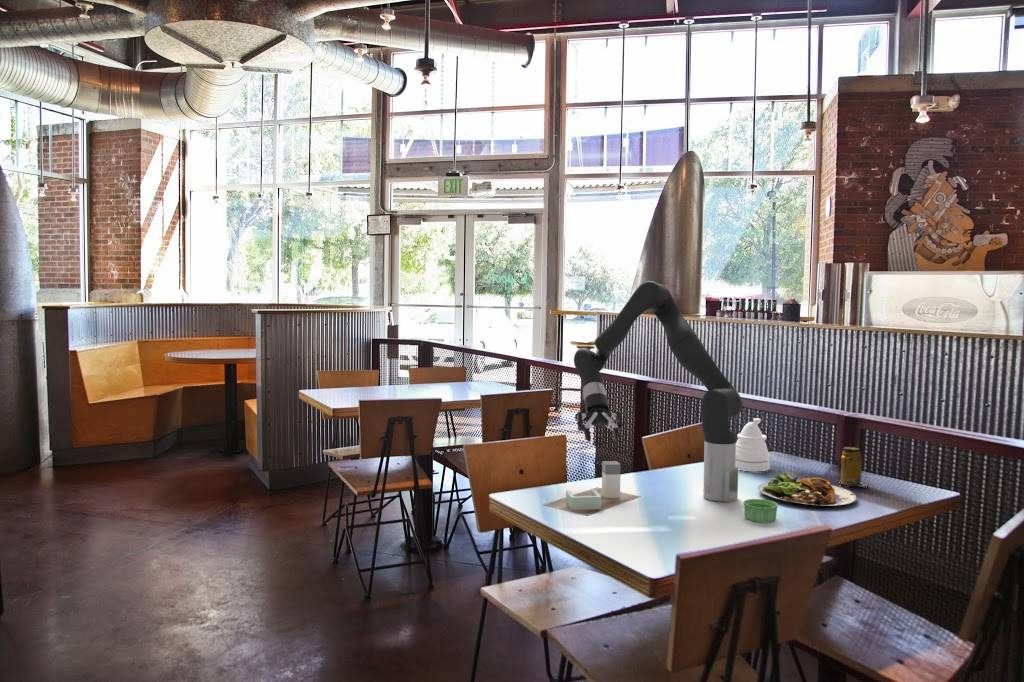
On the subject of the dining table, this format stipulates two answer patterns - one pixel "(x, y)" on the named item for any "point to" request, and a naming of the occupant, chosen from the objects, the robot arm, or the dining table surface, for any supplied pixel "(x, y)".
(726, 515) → the dining table surface
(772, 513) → the ramekin
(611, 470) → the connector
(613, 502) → the board
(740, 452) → the honey pot
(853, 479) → the condiment
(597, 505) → the end holder
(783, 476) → the plate of food
